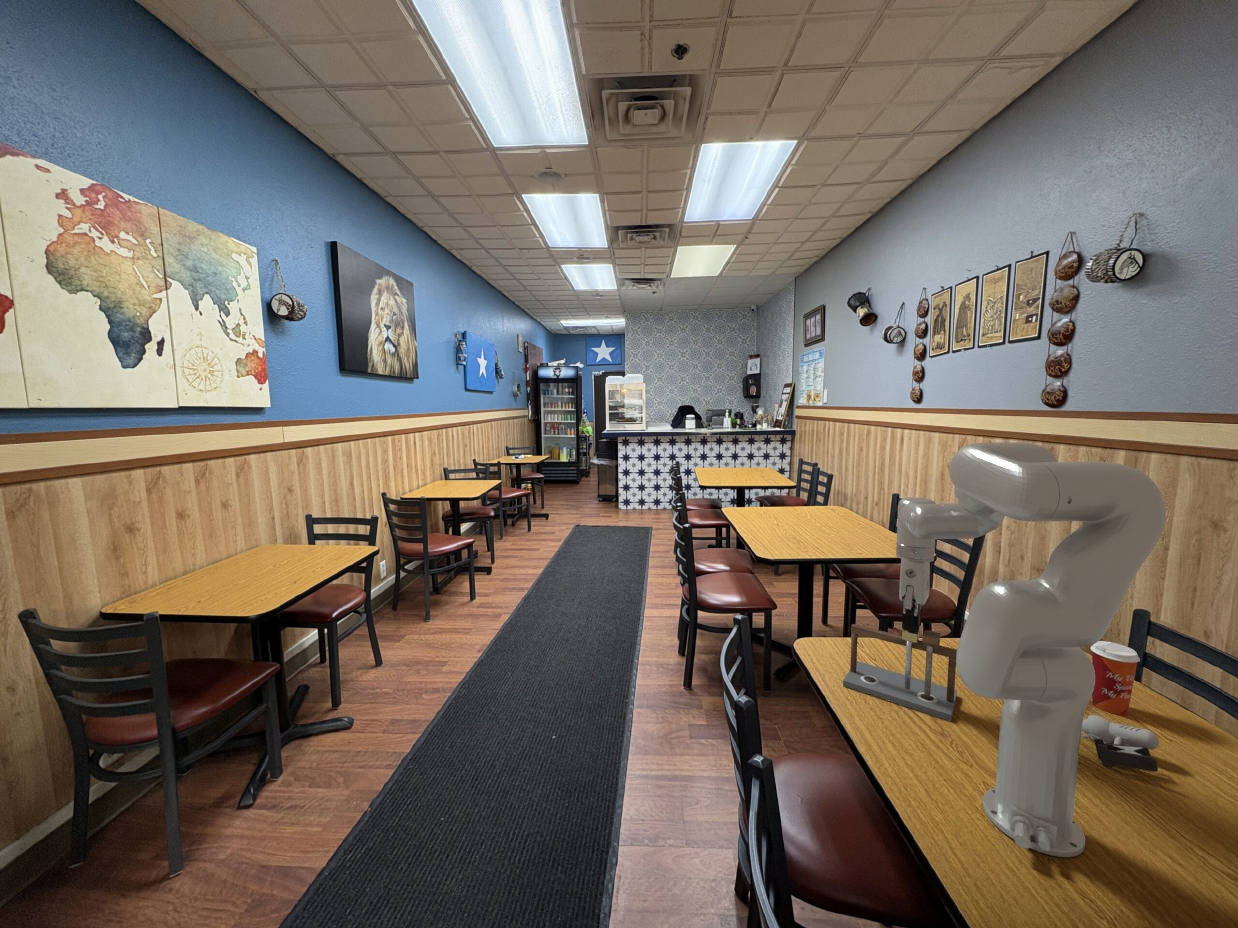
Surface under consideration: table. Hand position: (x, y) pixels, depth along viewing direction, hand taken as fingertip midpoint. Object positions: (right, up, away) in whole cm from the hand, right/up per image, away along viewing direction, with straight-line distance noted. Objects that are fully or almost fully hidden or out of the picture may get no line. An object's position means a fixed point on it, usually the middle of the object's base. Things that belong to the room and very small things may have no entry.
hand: (911, 626), depth 113 cm
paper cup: (+42, -17, -4) cm, 45 cm away
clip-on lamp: (+26, -19, -17) cm, 36 cm away
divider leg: (0, -15, +1) cm, 15 cm away
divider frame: (-1, -15, +3) cm, 15 cm away
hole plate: (-1, -17, +3) cm, 17 cm away
